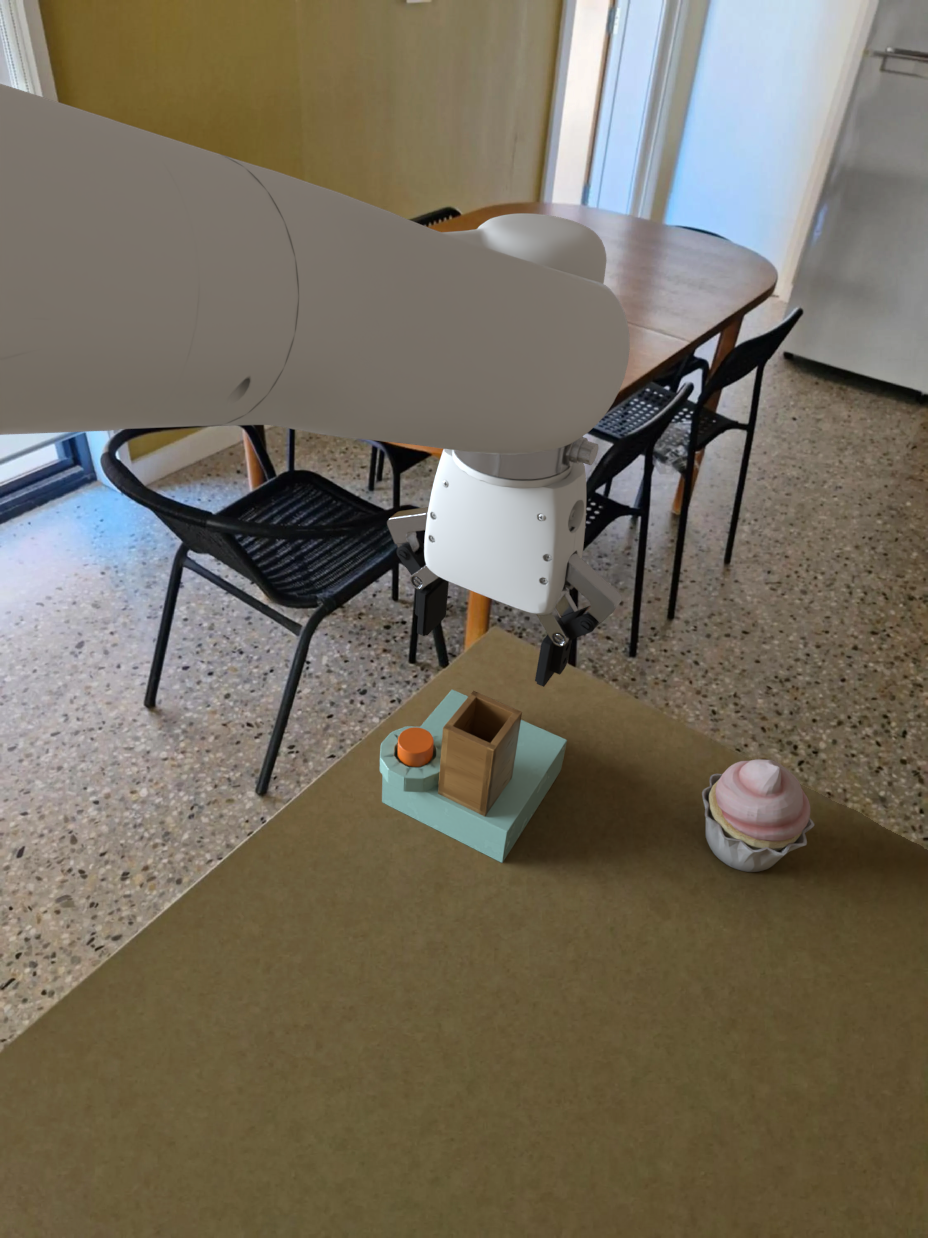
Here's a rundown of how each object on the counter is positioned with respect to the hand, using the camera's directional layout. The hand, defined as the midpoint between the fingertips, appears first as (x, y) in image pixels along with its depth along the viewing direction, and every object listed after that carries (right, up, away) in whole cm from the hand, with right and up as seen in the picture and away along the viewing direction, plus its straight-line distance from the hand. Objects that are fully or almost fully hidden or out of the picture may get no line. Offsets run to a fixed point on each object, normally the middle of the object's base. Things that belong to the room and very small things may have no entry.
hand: (488, 649), depth 65 cm
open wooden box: (-1, -12, +10) cm, 16 cm away
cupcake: (+23, -18, +13) cm, 31 cm away
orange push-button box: (-1, -13, +16) cm, 20 cm away
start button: (-6, -9, +11) cm, 15 cm away
